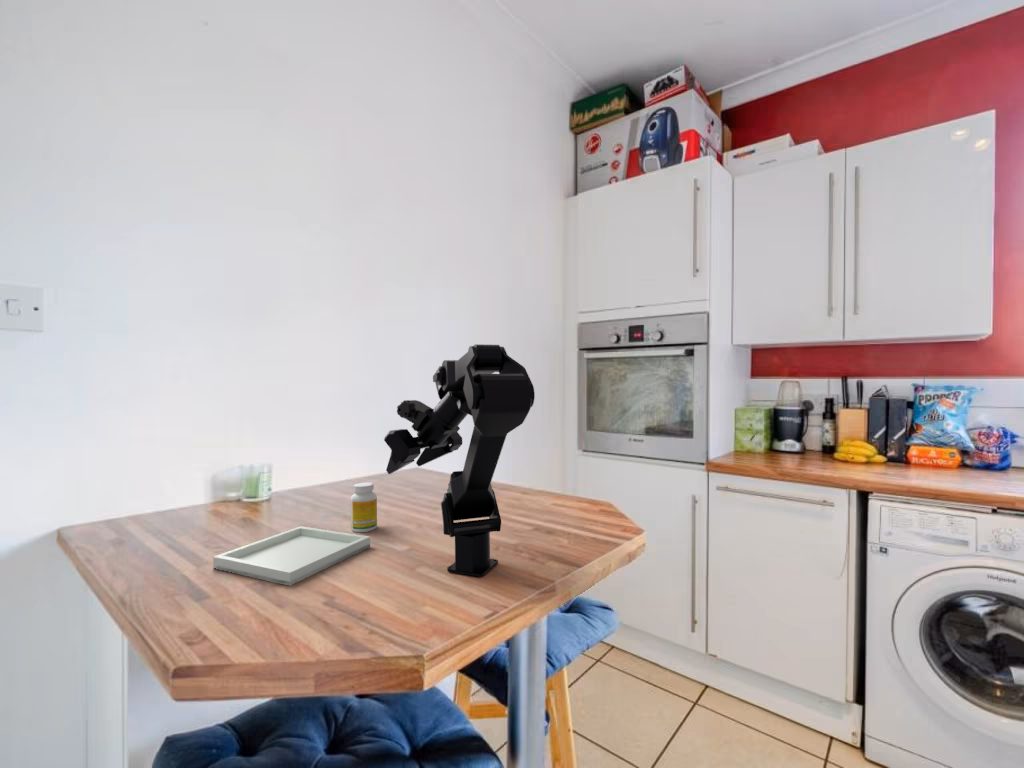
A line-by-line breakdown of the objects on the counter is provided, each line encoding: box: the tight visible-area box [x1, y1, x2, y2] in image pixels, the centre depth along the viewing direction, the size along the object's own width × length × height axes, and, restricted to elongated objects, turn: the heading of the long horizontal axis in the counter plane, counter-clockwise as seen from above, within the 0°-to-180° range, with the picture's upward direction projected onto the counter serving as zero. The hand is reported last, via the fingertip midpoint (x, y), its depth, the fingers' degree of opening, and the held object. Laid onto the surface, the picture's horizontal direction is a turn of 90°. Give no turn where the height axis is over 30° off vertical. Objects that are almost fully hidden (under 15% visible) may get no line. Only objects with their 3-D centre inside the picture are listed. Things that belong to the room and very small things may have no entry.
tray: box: [212, 525, 371, 586], centre depth 82 cm, size 18×18×2 cm
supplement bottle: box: [350, 481, 378, 533], centre depth 98 cm, size 5×5×10 cm
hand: (403, 468), depth 93 cm, fingers open, 9 cm apart
